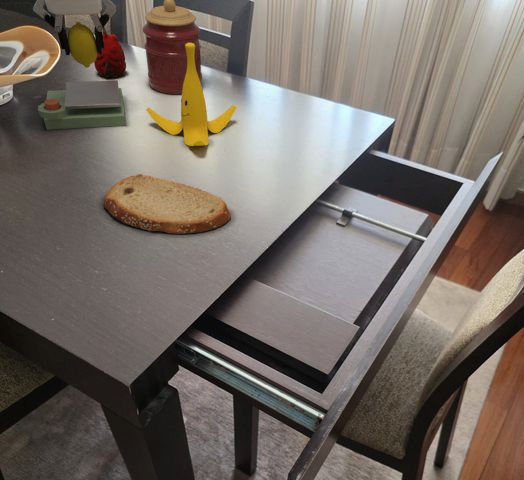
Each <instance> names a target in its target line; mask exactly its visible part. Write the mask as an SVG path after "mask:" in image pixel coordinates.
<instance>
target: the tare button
mask: <svg viewBox="0 0 524 480" xmlns="http://www.w3.org/2000/svg"><path fill="white" fill-rule="evenodd" d="M43 103H44V104H45V108H46V110H57V109H60V105H59V101H58V100H56V99H49V100H44V102H43Z"/></svg>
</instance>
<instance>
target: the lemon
mask: <svg viewBox="0 0 524 480" xmlns="http://www.w3.org/2000/svg"><path fill="white" fill-rule="evenodd" d="M67 38H68V47H69V50H70V55H71V57H72V58H73V60H74V61H75V62H77V63H78V64H80V65H82V66H83V67H84V68H85V69H86V68H89V67H90V66H91V65H92V64H94V61H95V60H96V58H97V54H98V50H97V44H96V39H95V33H94V32H93V31H92V29H90V28H89V27H88V26H87V25H85V24H83V23H81V22H80V21H77V22H76V23H75V24H73V25H72V26H71V27H70V28H69V30H68V32H67Z"/></svg>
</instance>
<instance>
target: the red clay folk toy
mask: <svg viewBox="0 0 524 480" xmlns="http://www.w3.org/2000/svg"><path fill="white" fill-rule="evenodd" d="M103 13H104V11H103V9H102V10H101V12H100V13H99V14H100V16H101V15H102V14H103ZM102 34H103V40H104V46H105V48H102V55H99V54H97V58H96V60H95V61H94V62H93V65H94V69H95V70H96V72H97V73H98V74H99V76H101V77H104V78H112V79H114V78H118V77H122V76H123V75H125V73H126V69H127V62H126V55H125V52H124V48H122V45H121V43H120V42H119V39H118V36H117V35H116V34H114V33H112V34H108V33H107V31H106V28H105V27H104V28H103V30H102Z"/></svg>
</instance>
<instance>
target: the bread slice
mask: <svg viewBox="0 0 524 480" xmlns="http://www.w3.org/2000/svg"><path fill="white" fill-rule="evenodd" d="M102 206H103V208H104V209H106V210H107V211H108V212H109V214H111V216H112V217H114V218H115V219H117V220H118V221H120V222H121V223H123V224H125V225H129V226H132V227H134V228H138V229H141V230H146V231H148V232H164V233H167V234H176V235H177V234H178V235H179V234H181V235H182V234H195V233H196V234H198V233H202V232H207V231H210V230H214V229H217V228H219V227H221V226H223V225H225V224H226V223H227V222H228V221H231V217H232V216H231V211H230V210H229V208H228V206H227V203H226V202H225V201H224V199H222V197H220V196H217V195H215V194H212V193H211V192H209V191H205V190H203V189H202V190H201V189H200V188H198V187H193V186H191V185H187V184H185V183H181V182H176V181H173V180H167V179H165V178H159V177H155V176H151V175H144V174H142V173H139V174H136V175H130V176H127V177H126V178H122V179H121V180H120V181H119V182H117V183H115V184H114V185H113V186H112V187H111V188H110V189H109V190H108V192H107V193H106V194H105V196H104V199H103V202H102Z"/></svg>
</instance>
